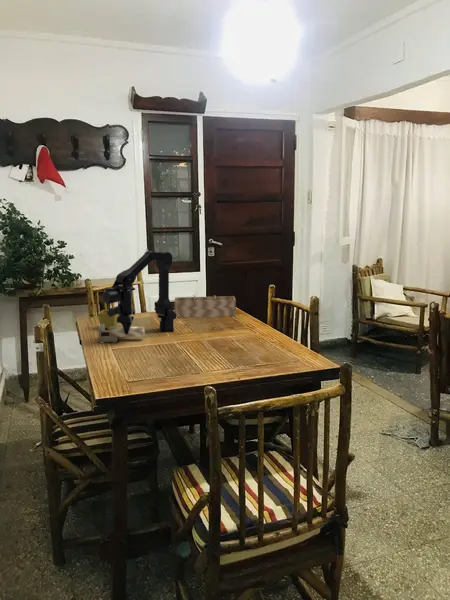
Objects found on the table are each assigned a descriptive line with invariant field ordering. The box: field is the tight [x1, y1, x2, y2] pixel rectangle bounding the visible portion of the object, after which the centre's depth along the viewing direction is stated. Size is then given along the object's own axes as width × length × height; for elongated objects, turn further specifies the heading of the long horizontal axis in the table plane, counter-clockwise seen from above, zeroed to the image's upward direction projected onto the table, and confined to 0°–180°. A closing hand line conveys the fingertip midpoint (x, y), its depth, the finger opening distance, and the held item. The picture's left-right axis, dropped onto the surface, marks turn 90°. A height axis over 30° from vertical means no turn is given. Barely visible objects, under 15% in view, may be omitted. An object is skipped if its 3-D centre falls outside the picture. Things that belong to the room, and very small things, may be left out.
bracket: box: [97, 324, 121, 344], centre depth 229 cm, size 8×10×7 cm
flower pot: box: [97, 309, 119, 330], centre depth 252 cm, size 9×9×9 cm
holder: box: [173, 294, 237, 318], centre depth 284 cm, size 35×13×10 cm, turn 94°
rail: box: [108, 325, 146, 338], centre depth 230 cm, size 16×4×4 cm, turn 86°
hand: (127, 333), depth 230 cm, fingers closed on rail, 4 cm apart
